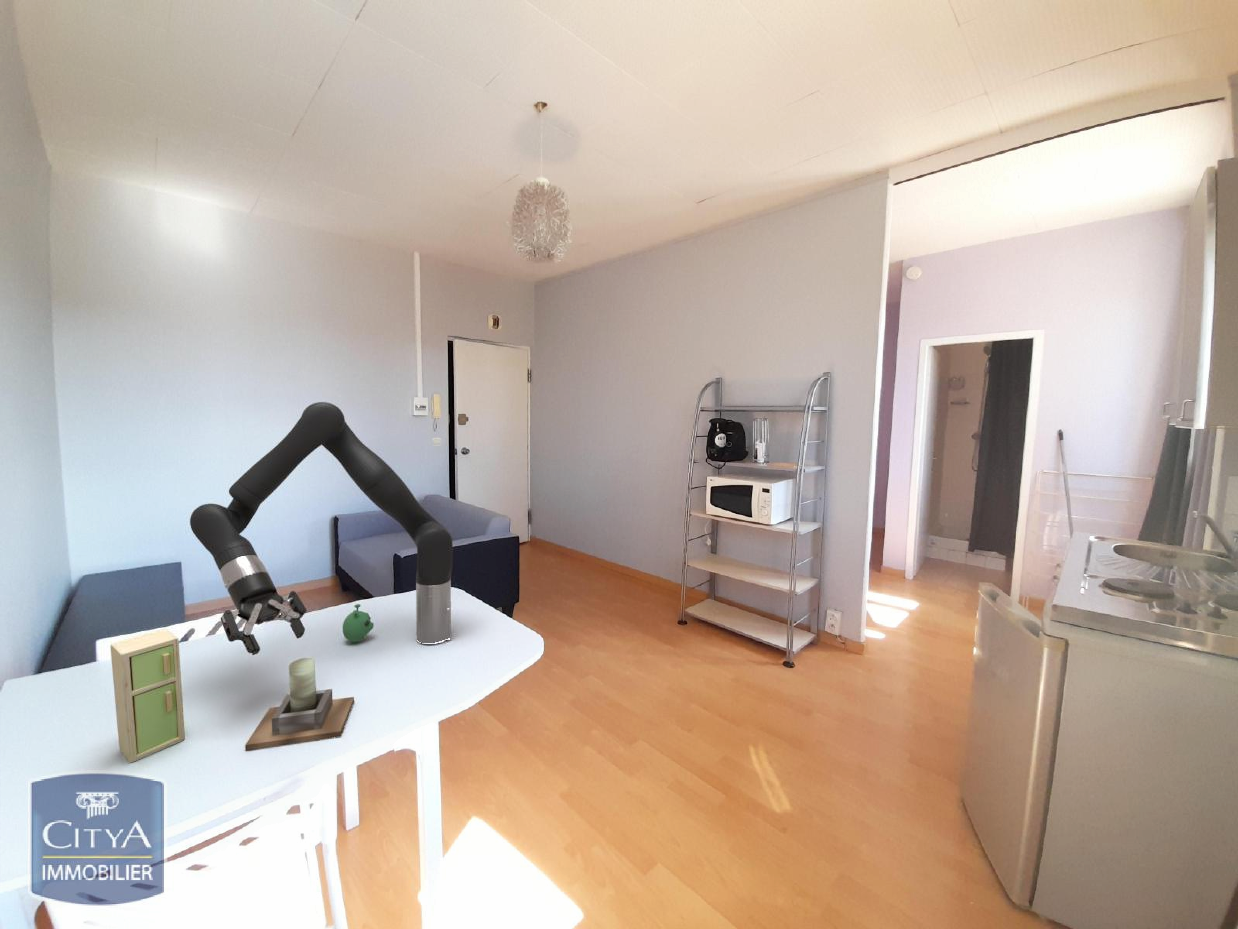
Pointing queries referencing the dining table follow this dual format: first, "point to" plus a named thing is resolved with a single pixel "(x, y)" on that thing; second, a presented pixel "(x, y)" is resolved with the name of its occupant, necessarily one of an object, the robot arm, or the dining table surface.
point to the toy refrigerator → (148, 693)
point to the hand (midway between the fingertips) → (279, 644)
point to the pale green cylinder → (302, 685)
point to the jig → (301, 722)
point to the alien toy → (357, 625)
